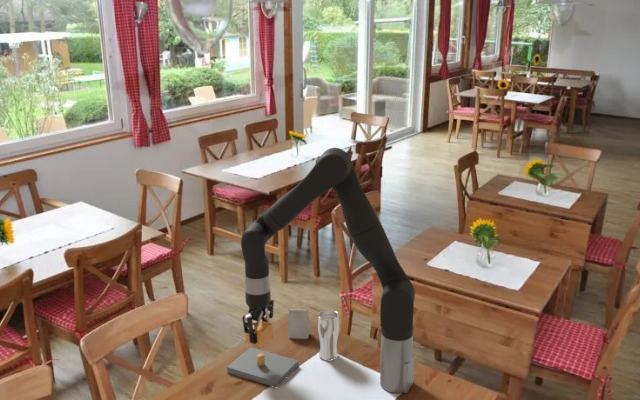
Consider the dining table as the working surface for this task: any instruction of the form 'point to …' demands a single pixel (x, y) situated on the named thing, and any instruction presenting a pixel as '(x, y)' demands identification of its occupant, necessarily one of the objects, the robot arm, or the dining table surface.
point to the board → (263, 367)
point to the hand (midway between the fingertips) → (259, 337)
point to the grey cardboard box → (298, 324)
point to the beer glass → (328, 333)
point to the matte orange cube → (262, 333)
